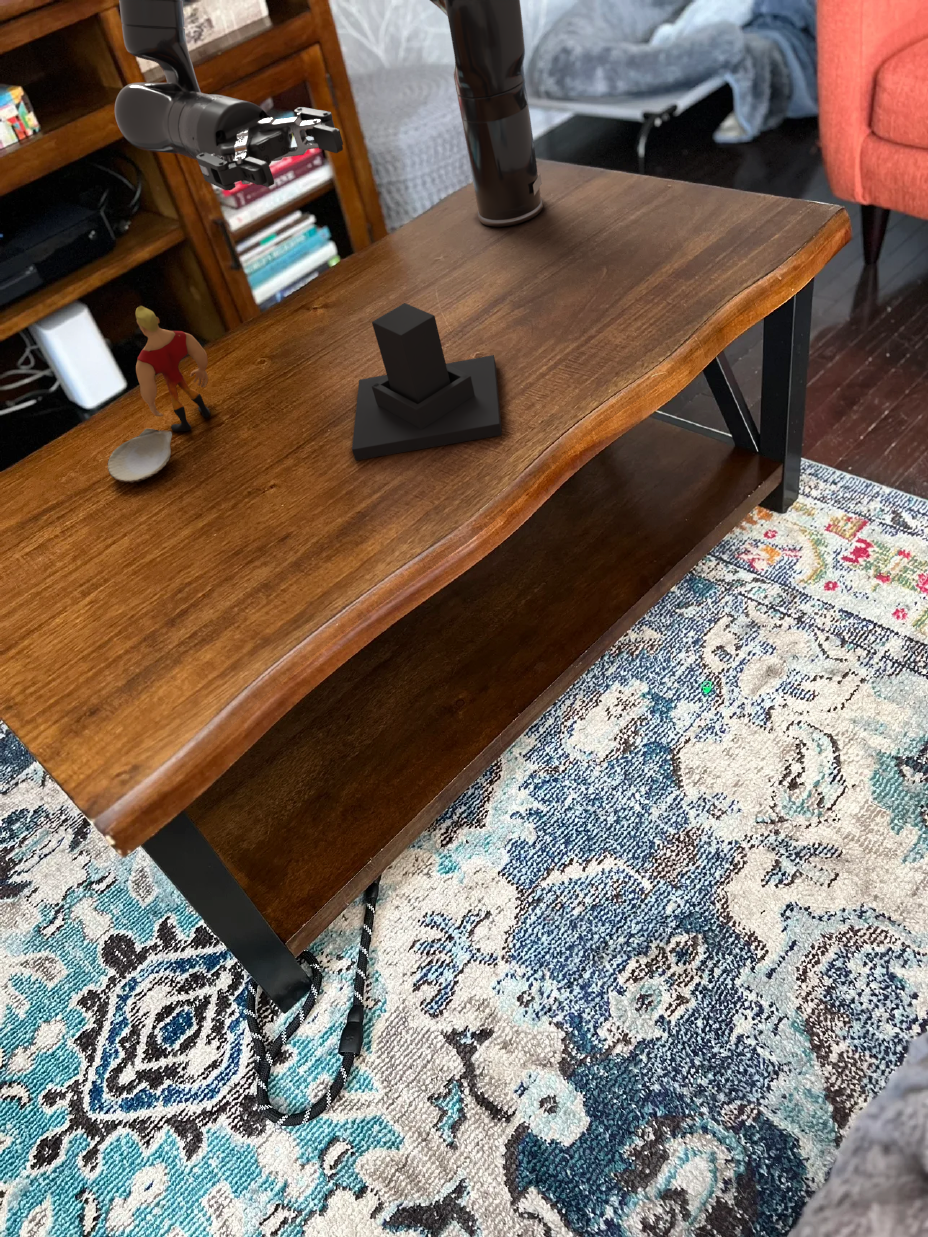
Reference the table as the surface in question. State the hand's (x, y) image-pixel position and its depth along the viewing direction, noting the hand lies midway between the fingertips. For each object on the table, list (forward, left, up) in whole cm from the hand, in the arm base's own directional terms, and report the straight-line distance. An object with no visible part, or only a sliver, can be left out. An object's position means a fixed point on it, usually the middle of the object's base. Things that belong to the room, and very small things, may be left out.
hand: (304, 157), depth 96 cm
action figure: (+2, -22, -26) cm, 34 cm away
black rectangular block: (+9, +7, -24) cm, 27 cm away
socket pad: (+9, +7, -26) cm, 28 cm away
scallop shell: (+10, -26, -26) cm, 38 cm away
